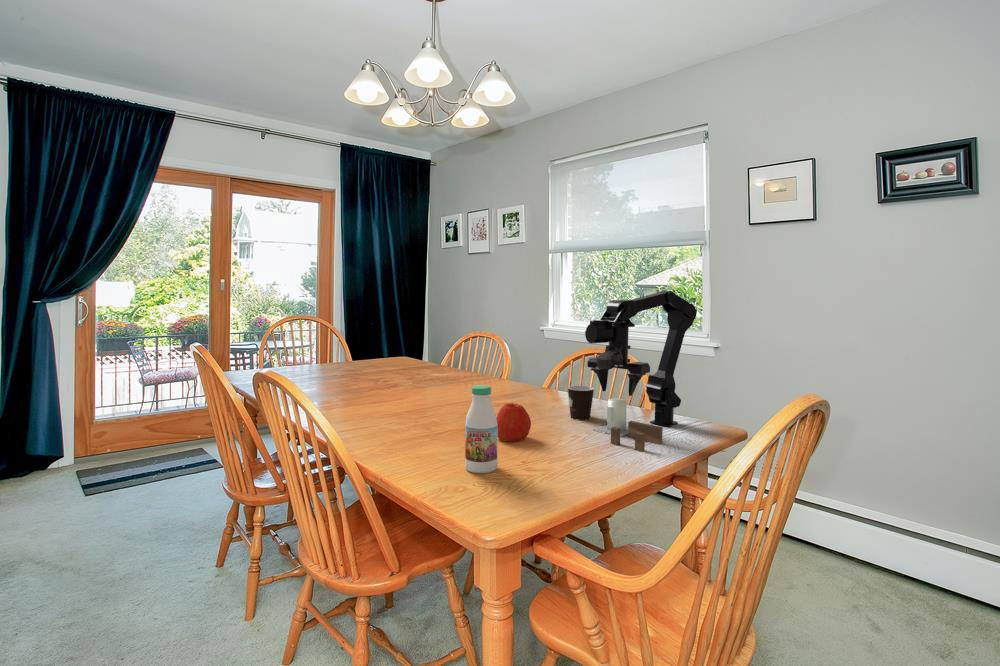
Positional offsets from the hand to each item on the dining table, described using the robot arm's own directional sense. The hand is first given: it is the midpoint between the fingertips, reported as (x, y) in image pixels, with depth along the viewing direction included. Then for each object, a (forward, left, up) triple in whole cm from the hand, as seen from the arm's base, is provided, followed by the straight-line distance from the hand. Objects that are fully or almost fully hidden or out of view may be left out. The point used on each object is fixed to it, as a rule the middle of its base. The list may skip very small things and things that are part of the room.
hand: (616, 393), depth 158 cm
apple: (+29, -16, -12) cm, 35 cm away
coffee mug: (-6, -18, -12) cm, 22 cm away
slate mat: (0, 0, -11) cm, 11 cm away
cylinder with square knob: (0, 0, -11) cm, 11 cm away
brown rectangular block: (+7, +11, -11) cm, 17 cm away
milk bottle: (+52, -4, -12) cm, 53 cm away
